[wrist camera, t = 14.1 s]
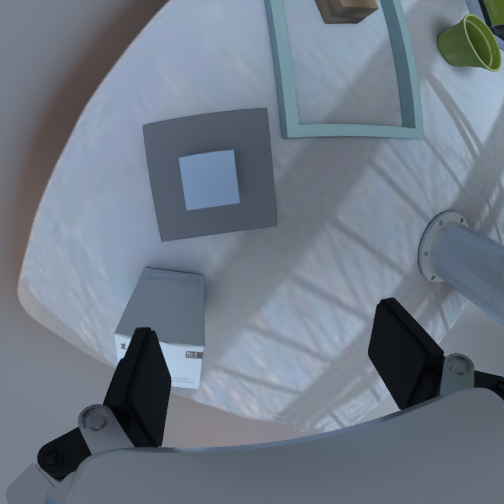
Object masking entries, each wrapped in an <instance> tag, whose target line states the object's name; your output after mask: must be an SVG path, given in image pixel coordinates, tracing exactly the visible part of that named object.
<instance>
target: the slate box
mask: <svg viewBox="0 0 504 504" xmlns="http://www.w3.org/2000/svg"><path fill="white" fill-rule="evenodd" d="M179 163H180V170H181V177H182V184H183V191H184V197H185V203H186V209H187V210H194V209H200V208H207V207H214V206H221V205H229V204H236V203H240V200H239V192H238V183H237V175H236V166H235V157H234V150H232V149H230V150H222V151H215V152H207V153H201V154H194V155H188V156H184V157H180V158H179Z"/></svg>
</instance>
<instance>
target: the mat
mask: <svg viewBox="0 0 504 504" xmlns="http://www.w3.org/2000/svg"><path fill="white" fill-rule="evenodd" d="M143 134H144V142H145V150H146V157H147V164H148V171H149V177H150V183H151V189H152V195H153V201H154V206H155V212H156V217H157V222H158V227H159V232H160V237H161V242H164V241H171V240H178V239H184V238H191V237H198V236H205V235H213V234H220V233H227V232H234V231H242V230H250V229H257V228H265V227H273V226H277V214H276V201H275V189H274V178H273V167H272V156H271V146H270V135H269V126H268V116H267V108H256V109H244V110H233V111H224V112H216V113H209V114H201V115H195V116H189V117H183V118H177V119H171V120H166V121H161V122H156V123H151V124H147V125H143ZM230 149H232V150H234V157H235V166H236V175H237V183H238V192H239V200H240V203H236V204H229V205H221V206H214V207H207V208H200V209H194V210H187V209H186V203H185V197H184V191H183V184H182V177H181V170H180V163H179V158H180V157H184V156H188V155H194V154H201V153H207V152H215V151H222V150H230Z"/></svg>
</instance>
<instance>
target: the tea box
mask: <svg viewBox="0 0 504 504" xmlns="http://www.w3.org/2000/svg"><path fill="white" fill-rule="evenodd" d="M466 2H467V5H468V8H469V11H470V14H473V15H475V16H477V17H479V18H480V19H481V20H482V21H483V22H484V23H485V24H486V25H487V26H488V27H489V29H490V30H491V32H492V33H493V35H494V37H495V39H496V41H497V43H498V46H499V47H500V48H501V49H503V50H504V0H466Z"/></svg>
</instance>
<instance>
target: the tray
mask: <svg viewBox="0 0 504 504" xmlns="http://www.w3.org/2000/svg"><path fill="white" fill-rule="evenodd" d="M264 1H265V7H266V13H267V20H268V27H269V33H270V40H271V48H272V55H273V63H274V71H275V79H276V88H277V96H278V105H279V115H280V124H281V135H282V138H297V137H325V136H363V137H390V138H406V139H421V140H424V133H423V118H422V107H421V98H420V90H419V82H418V76H417V70H416V64H415V58H414V53H413V48H412V44H411V39H410V35H409V31H408V27H407V23H406V19H405V15H404V12H403V9H402V5H401V2H400V0H381V4H382V7H383V11H384V15H385V19H386V23H387V27H388V31H389V35H390V40H391V45H392V50H393V55H394V60H395V66H396V72H397V79H398V86H399V94H400V103H401V113H402V125H403V127H394V126H380V125H359V124H300V125H299V115H298V106H297V97H296V88H295V80H294V72H293V64H292V57H291V50H290V43H289V37H288V30H287V24H286V18H285V12H284V7H283V1H282V0H264Z"/></svg>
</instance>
